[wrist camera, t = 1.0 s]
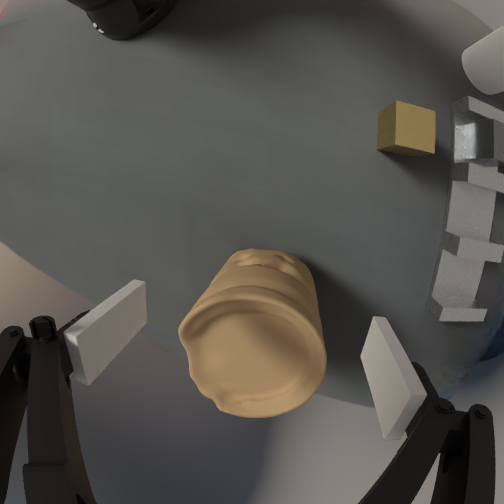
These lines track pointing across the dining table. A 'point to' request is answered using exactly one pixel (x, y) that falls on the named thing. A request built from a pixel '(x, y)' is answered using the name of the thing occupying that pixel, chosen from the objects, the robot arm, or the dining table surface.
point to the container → (257, 335)
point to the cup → (486, 63)
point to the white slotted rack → (469, 210)
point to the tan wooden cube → (406, 129)
